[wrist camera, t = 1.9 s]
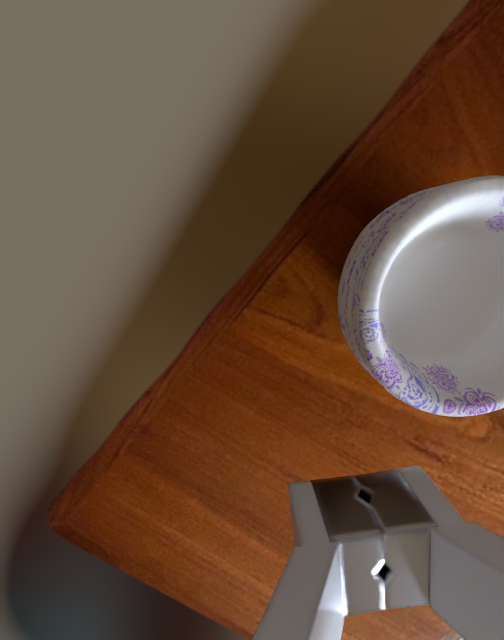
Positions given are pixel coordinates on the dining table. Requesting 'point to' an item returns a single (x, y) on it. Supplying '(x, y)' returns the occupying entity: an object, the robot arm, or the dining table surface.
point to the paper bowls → (432, 298)
